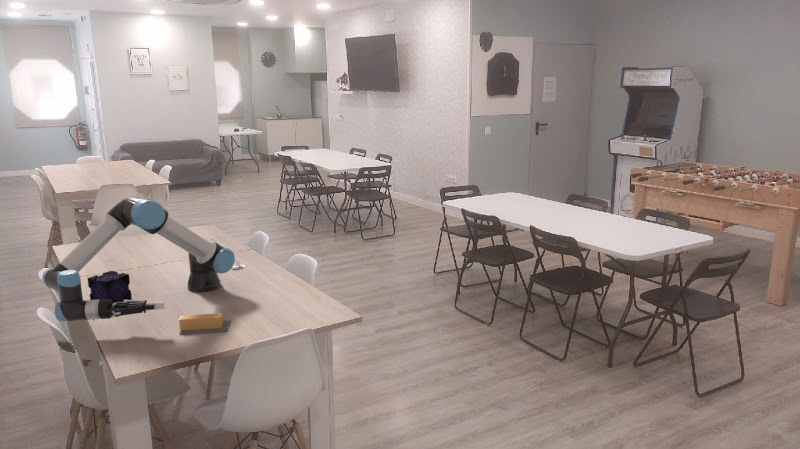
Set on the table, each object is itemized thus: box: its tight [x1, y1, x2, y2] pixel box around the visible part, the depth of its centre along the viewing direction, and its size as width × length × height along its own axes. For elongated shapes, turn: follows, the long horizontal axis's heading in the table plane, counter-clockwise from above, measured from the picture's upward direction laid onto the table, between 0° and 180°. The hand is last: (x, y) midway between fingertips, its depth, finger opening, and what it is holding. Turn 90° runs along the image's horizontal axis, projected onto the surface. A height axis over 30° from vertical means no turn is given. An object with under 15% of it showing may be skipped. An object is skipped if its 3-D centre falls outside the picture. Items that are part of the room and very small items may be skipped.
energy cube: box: [87, 270, 133, 303], centre depth 270 cm, size 12×12×12 cm
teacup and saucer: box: [231, 259, 246, 270], centre depth 320 cm, size 9×8×4 cm
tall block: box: [178, 312, 224, 332], centre depth 240 cm, size 4×4×16 cm
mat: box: [179, 319, 232, 335], centre depth 240 cm, size 18×11×1 cm, turn 98°
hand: (163, 305), depth 236 cm, fingers closed
